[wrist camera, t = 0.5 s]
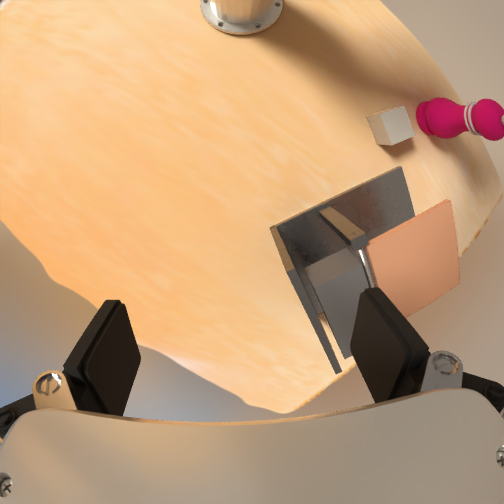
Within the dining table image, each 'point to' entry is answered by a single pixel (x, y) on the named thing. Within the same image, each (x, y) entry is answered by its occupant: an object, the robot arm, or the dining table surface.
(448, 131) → the pepper mill
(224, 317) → the dining table surface
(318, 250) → the frame
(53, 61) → the dining table surface
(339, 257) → the trapdoor
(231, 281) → the dining table surface
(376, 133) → the light grey cube
